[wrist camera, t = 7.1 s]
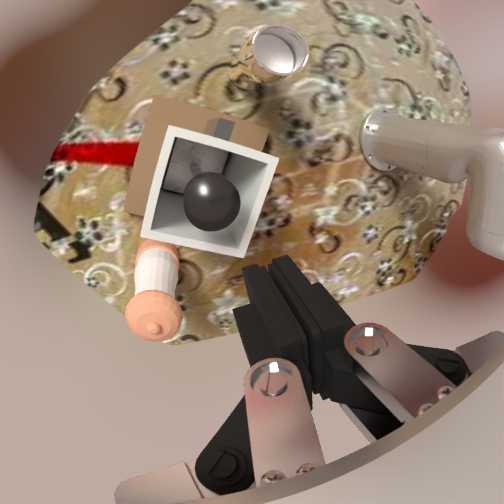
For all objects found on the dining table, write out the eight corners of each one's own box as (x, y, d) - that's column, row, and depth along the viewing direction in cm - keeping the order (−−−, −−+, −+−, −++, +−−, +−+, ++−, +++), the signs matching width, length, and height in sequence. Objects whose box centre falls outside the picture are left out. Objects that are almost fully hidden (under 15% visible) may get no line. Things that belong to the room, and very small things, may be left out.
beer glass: (237, 99, 38) (267, 86, 25) (217, 62, 35) (239, 32, 22) (275, 83, 38) (320, 67, 25) (257, 47, 35) (295, 16, 22)
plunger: (227, 150, 39) (273, 171, 21) (212, 199, 41) (242, 258, 24) (177, 136, 36) (178, 143, 18) (163, 187, 38) (153, 239, 21)
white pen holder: (265, 129, 41) (330, 134, 24) (230, 231, 47) (266, 298, 30) (155, 96, 35) (138, 70, 17) (125, 208, 41) (94, 267, 23)
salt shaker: (155, 228, 44) (146, 292, 27) (187, 254, 47) (198, 327, 30) (128, 258, 44) (110, 333, 28) (160, 282, 48) (160, 362, 31)
